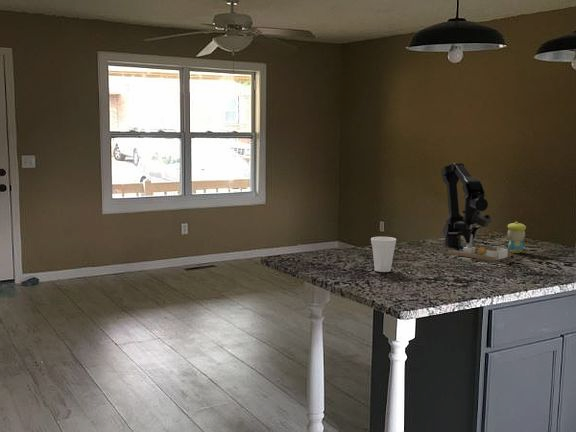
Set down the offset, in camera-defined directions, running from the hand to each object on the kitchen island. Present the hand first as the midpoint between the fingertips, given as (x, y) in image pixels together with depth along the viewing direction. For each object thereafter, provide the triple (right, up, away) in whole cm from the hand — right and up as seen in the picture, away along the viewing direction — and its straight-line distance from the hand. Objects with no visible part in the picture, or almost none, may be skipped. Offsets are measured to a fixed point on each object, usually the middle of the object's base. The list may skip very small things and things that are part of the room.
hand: (469, 242), depth 282 cm
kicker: (0, -5, +1) cm, 5 cm away
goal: (+9, -6, -9) cm, 14 cm away
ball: (+4, -4, -4) cm, 7 cm away
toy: (+22, -5, +4) cm, 23 cm away
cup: (-44, -10, -34) cm, 57 cm away
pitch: (+3, -6, -3) cm, 7 cm away
